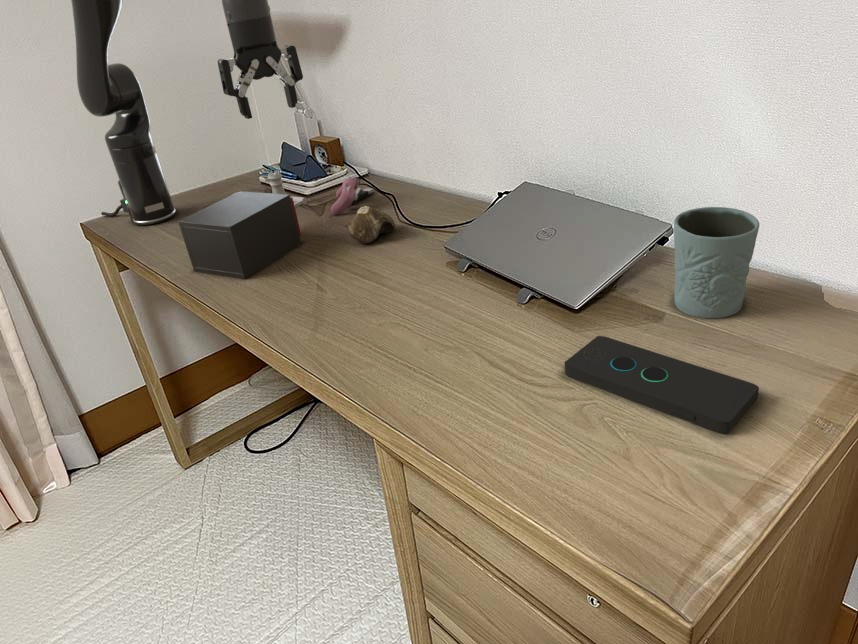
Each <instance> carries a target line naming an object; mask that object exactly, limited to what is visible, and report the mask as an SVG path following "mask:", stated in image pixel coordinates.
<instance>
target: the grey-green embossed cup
mask: <svg viewBox="0 0 858 644" xmlns="http://www.w3.org/2000/svg"><path fill="white" fill-rule="evenodd" d="M759 230H760V221H759V219H758V218H757V217H756V216H754V214H751V213H750V212H748V211H745V210H742V209H737V208H732V207H725V206H704V207H697V208H692V209H688V210H685V211H683V212H681V213H679V214H678V215H677V216H676V217H675V218H674V221H673V243H674V267H673V268H674V272H675V274H674V287H673V290H674V292H673V295H674V296H673V299H674V304H675V306H676V308H677V309H678V311H681V312H682V313H684V314H686V315H689V316H692V317H696V318H700V319H701V318H702V319H723V318H727V317H730V316H733V315H735V314H737V313H738V312H739V311H740V310H741V309H742V307H743V303H744V299H745V295H746V288H747V280H748V275H749V273H750V263H751V261H752V259H753V254H754V251H755V247H756V242H757V237H758V234H759Z"/></svg>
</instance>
